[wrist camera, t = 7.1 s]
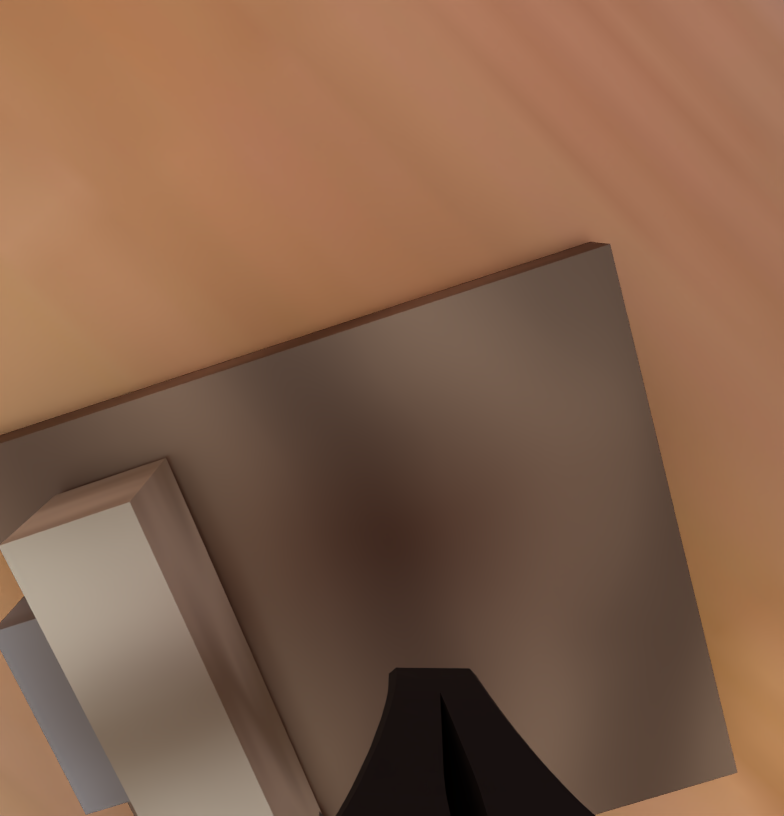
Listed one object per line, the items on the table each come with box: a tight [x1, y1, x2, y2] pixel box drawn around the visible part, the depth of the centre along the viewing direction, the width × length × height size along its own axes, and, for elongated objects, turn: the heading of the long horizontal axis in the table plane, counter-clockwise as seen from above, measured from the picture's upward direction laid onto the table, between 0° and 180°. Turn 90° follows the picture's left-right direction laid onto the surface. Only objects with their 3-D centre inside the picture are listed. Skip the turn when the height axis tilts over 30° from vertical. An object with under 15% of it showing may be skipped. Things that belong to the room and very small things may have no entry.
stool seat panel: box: [0, 242, 737, 816], centre depth 19 cm, size 16×15×4 cm
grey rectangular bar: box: [0, 458, 323, 816], centre depth 18 cm, size 12×3×3 cm, turn 19°
